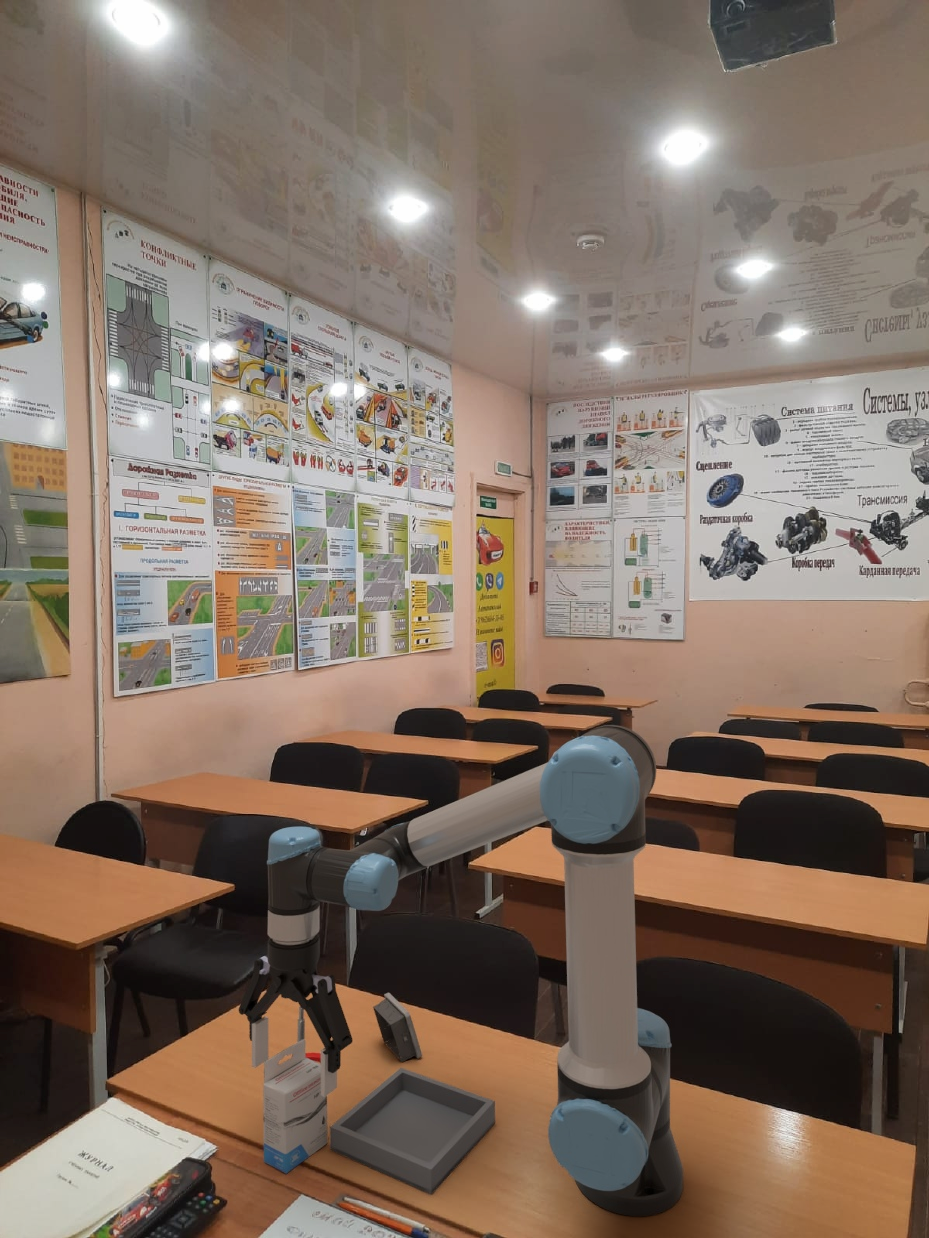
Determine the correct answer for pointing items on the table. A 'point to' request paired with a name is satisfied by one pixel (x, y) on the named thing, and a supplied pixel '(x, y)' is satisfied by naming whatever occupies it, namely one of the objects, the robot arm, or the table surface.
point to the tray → (413, 1129)
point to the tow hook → (302, 1036)
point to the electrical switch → (397, 1028)
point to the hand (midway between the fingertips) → (293, 1076)
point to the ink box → (293, 1109)
